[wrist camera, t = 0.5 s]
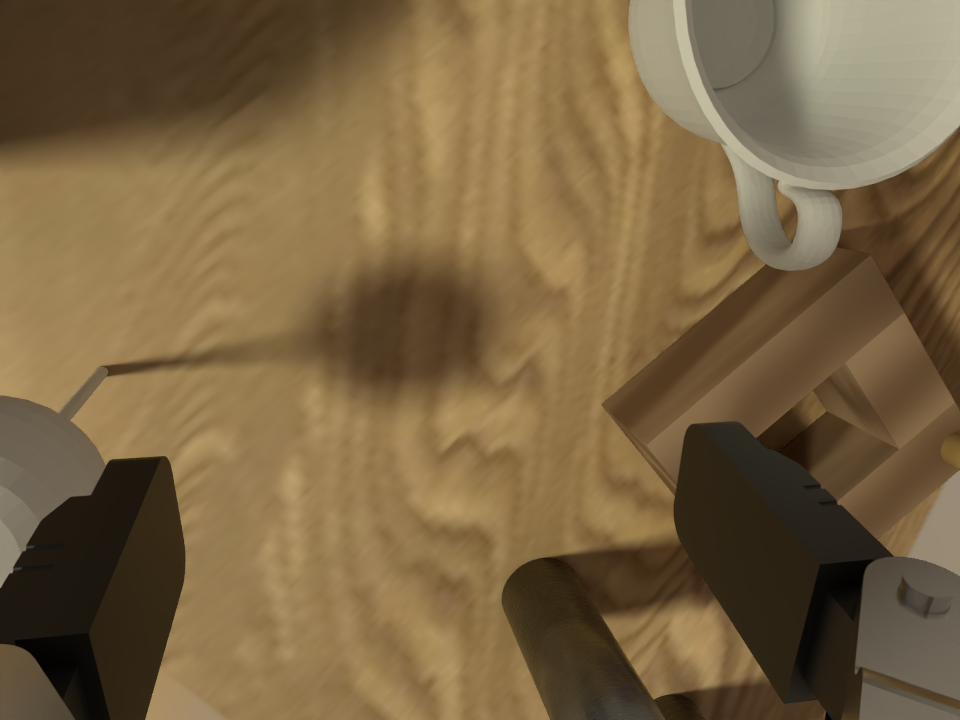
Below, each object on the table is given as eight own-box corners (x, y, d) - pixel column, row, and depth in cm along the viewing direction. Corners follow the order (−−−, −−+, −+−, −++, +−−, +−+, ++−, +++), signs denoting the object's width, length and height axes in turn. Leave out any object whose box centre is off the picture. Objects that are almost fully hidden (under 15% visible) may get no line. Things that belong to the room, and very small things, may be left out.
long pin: (493, 574, 37) (610, 841, 23) (569, 547, 38) (729, 793, 24) (511, 639, 38) (632, 930, 24) (585, 612, 39) (744, 882, 25)
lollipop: (208, 405, 32) (133, 621, 18) (74, 466, 31) (-113, 738, 17) (130, 272, 30) (-26, 395, 15) (-15, 334, 29) (-311, 521, 15)
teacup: (555, 244, 33) (655, 287, 24) (568, -148, 29) (695, -285, 19) (800, 237, 36) (978, 274, 26) (845, -124, 31) (1076, -234, 22)
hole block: (601, 404, 36) (794, 578, 22) (796, 238, 36) (1118, 306, 21) (727, 561, 40) (958, 791, 26) (902, 413, 40) (1229, 565, 26)
